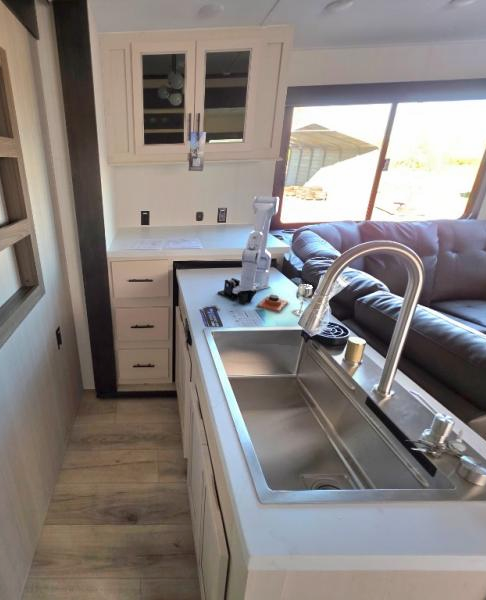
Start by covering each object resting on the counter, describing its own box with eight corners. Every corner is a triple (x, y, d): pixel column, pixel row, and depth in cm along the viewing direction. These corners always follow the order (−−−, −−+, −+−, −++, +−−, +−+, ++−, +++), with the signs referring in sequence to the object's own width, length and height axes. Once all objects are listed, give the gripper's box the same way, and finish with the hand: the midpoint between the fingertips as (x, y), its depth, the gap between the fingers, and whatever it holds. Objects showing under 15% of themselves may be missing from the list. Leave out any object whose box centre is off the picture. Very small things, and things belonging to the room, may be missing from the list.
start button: (270, 297, 138) (271, 293, 137) (279, 299, 136) (279, 296, 135) (267, 300, 135) (268, 296, 134) (276, 302, 133) (277, 298, 132)
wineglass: (300, 317, 126) (307, 289, 121) (288, 312, 130) (294, 285, 125) (310, 314, 128) (316, 287, 123) (298, 309, 133) (304, 282, 128)
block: (267, 298, 143) (268, 292, 142) (287, 303, 138) (288, 297, 137) (257, 307, 135) (258, 300, 134) (278, 313, 130) (279, 306, 128)
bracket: (244, 298, 144) (246, 282, 141) (233, 301, 140) (235, 285, 137) (228, 291, 152) (230, 275, 148) (217, 293, 148) (219, 278, 145)
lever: (247, 301, 140) (250, 296, 137) (243, 302, 138) (245, 298, 136) (231, 283, 146) (233, 278, 144) (226, 284, 145) (229, 280, 143)
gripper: (243, 282, 128) (239, 312, 133) (267, 276, 135) (262, 305, 140) (230, 277, 133) (227, 306, 139) (254, 271, 140) (250, 299, 146)
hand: (244, 305), depth 140 cm, fingers closed on lever, 3 cm apart
